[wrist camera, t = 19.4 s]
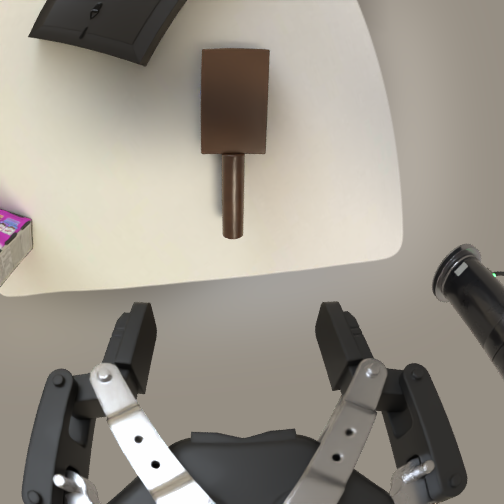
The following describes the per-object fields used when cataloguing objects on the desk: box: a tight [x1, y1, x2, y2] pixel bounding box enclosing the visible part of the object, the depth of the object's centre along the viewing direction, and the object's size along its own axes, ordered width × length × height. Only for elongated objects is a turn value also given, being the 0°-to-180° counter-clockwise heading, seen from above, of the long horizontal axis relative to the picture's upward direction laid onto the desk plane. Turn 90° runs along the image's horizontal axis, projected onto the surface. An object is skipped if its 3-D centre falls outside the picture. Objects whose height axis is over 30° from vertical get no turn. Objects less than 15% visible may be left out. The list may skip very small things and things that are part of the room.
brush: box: [201, 48, 270, 239], centre depth 24 cm, size 18×6×4 cm, turn 178°
